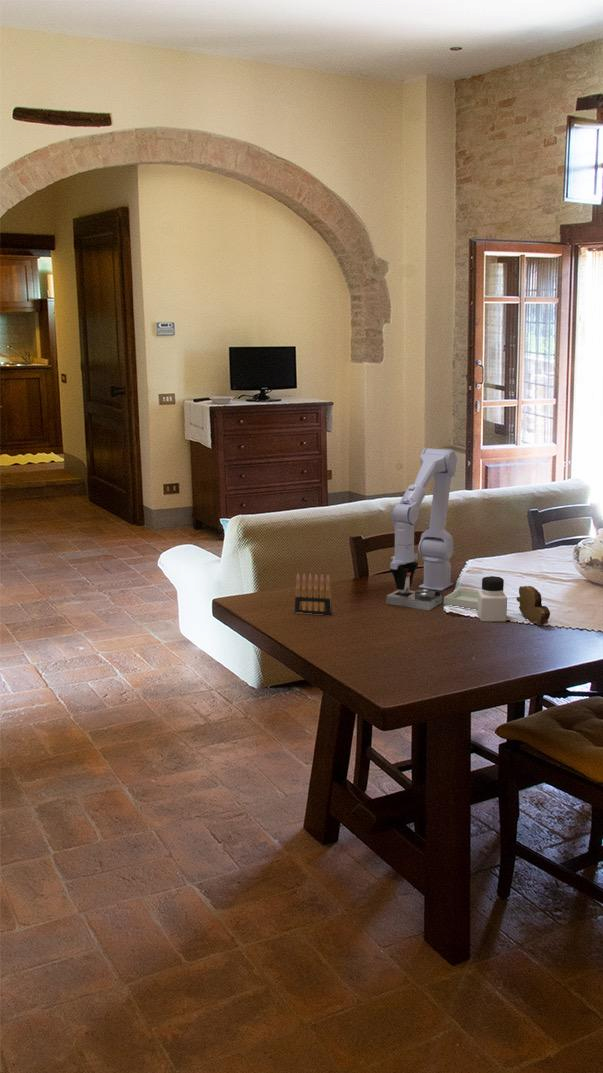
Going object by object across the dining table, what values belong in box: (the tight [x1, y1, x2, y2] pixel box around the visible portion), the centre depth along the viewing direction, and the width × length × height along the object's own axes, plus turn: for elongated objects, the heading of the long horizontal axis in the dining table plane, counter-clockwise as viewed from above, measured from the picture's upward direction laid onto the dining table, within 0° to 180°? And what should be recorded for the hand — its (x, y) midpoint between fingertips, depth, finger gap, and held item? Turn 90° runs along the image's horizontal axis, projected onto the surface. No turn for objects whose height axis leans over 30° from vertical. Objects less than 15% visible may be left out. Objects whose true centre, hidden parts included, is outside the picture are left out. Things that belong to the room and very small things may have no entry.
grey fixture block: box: [385, 588, 443, 611], centre depth 295 cm, size 9×14×5 cm, turn 58°
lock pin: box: [397, 571, 411, 597], centre depth 297 cm, size 4×4×9 cm
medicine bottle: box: [476, 575, 508, 623], centre depth 279 cm, size 7×7×12 cm
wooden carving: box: [516, 585, 551, 626], centre depth 276 cm, size 16×5×10 cm, turn 18°
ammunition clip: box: [294, 572, 333, 616], centre depth 285 cm, size 11×2×12 cm, turn 77°
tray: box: [443, 588, 478, 611], centre depth 295 cm, size 11×11×2 cm
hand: (403, 587), depth 297 cm, fingers closed on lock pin, 4 cm apart
